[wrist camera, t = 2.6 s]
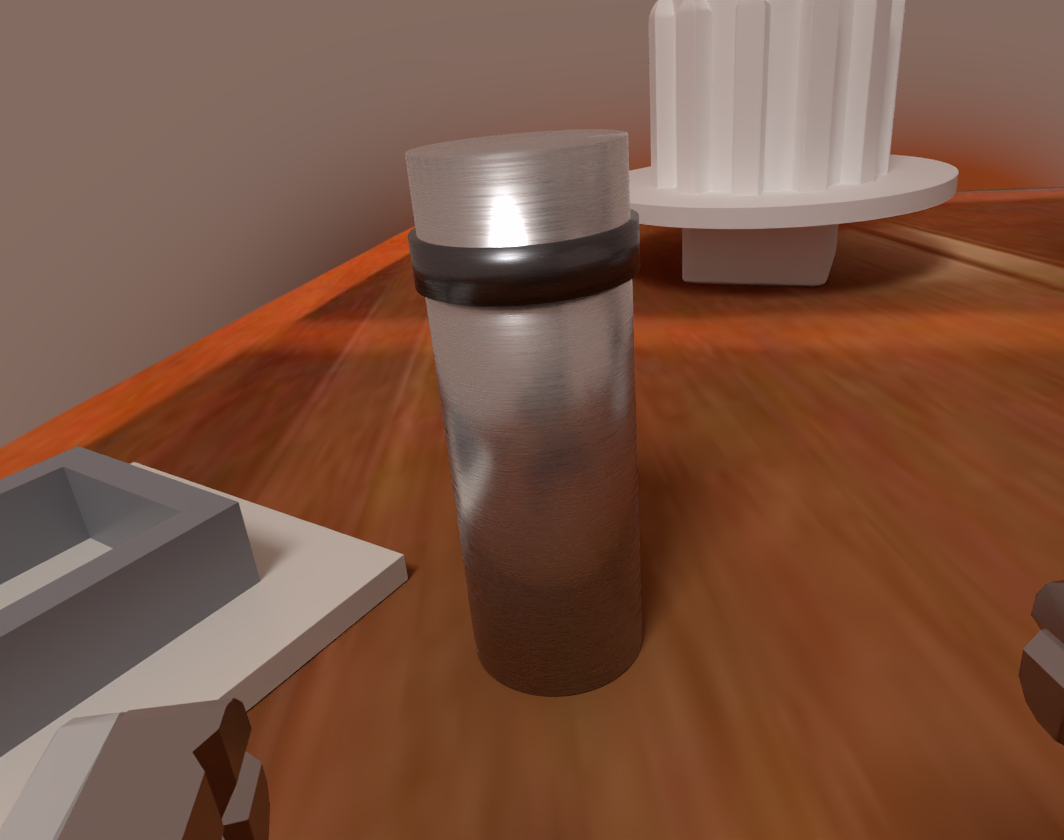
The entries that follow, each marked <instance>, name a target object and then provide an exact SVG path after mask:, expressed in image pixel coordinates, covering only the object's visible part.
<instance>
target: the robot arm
mask: <svg viewBox="0 0 1064 840" xmlns="http://www.w3.org/2000/svg"><path fill="white" fill-rule="evenodd" d="M1031 616H1032V617H1033V619H1034V620H1035V622H1036V623H1037V625H1038V626H1039V628H1040V629H1041V630H1040V631H1039V632H1038V634H1037V635H1036V636H1035V637H1034V638H1033V639H1032V640H1031V641H1030V642H1029V643H1028V645H1027V646H1026V647H1025V648H1024V649H1023V653H1022V659H1021V665H1020V671H1019V678H1020V682H1021V686H1022V690H1023V694H1024V697H1025V701H1026V703H1027V705H1028V706H1029V708H1030V710H1031V711H1032V713H1033V715H1034V717H1035V718H1036V720H1037V722H1038V723H1039V724H1040V725H1041V726H1042V727H1043V728H1044V729H1045V730H1046V731H1047V732H1048V733H1049V735H1050V736H1051V737H1052V738H1053V739H1054V740H1055V741H1056V742H1058V743H1060V744H1062V745H1064V580H1060V581H1053V582H1047V583H1046V584H1045V585H1044V586H1043V588H1042V589H1041V590H1040V591H1039V592H1038V593H1037V594H1036V597H1035V601H1034V605H1033V609H1032V613H1031ZM251 729H252V728H251V725H250V722H249V719H248V716H247V713H246V710H245V707H244V704H243V702H241V701H239V700H237V699H235V698H228V699H220V700H211V701H203V702H194V703H186V704H177V705H169V706H161V707H152V708H144V709H135V710H128V711H127V712H119V713H110V714H102V715H93V716H85V717H77V718H72V719H71V720H70V721H68V722H67V723H65V724H64V725H63V726H61V727H60V728H59V729H58V730H57V732H56V733H55V735H54V737H53V738H52V740H51V742H50V743H49V745H48V747H47V749H46V750H45V752H44V754H43V755H42V757H41V759H40V761H39V762H38V764H37V766H36V767H35V769H34V771H33V773H32V774H31V776H30V778H29V779H28V781H27V783H26V785H25V786H24V788H23V790H22V792H21V793H20V795H19V797H18V798H17V800H16V802H15V804H14V805H13V807H12V809H11V810H10V812H9V814H8V816H7V817H6V819H5V821H4V822H3V824H2V826H1V828H0V840H268V839H269V818H270V802H269V793H268V785H267V780H266V776H265V773H264V769H263V765H262V763H261V762H260V761H258V760H257V759H256V758H254V757H253V756H251V755H250V754H248V753H247V752H246V747H247V744H248V740H249V736H250V732H251Z"/></svg>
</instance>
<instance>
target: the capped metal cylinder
mask: <svg viewBox="0 0 1064 840" xmlns="http://www.w3.org/2000/svg"><path fill="white" fill-rule="evenodd" d="M628 154H629V153H628V133H627V132H625V131H620V130H605V129H580V130H556V131H539V132H527V133H515V134H504V135H495V136H485V137H477V138H470V139H462V140H455V141H448V142H443V143H437V144H431V145H427V146H422V147H418V148H414V149H411V150H409V151H407V152H405V158H406V165H407V172H408V179H409V186H410V193H411V200H412V207H413V214H414V220H415V228H414V229H413V230H411V231H410V232H409V234H408V241H409V247H410V254H411V261H412V268H413V274H414V281H415V288H416V290H417V292H418V293H420V294H421V295H422V296H424V297H425V298H426V304H427V311H428V318H429V325H430V332H431V339H432V346H433V353H434V360H435V367H436V374H437V381H438V388H439V395H440V402H441V409H442V416H443V423H444V430H445V437H446V444H447V451H448V458H449V465H450V472H451V479H452V486H453V493H454V500H455V507H456V514H457V521H458V528H459V535H460V542H461V549H462V556H463V563H464V569H465V576H466V583H467V590H468V597H469V604H470V611H471V618H472V625H473V632H474V639H475V646H476V652H477V655H478V659H479V660H480V662H481V664H482V666H483V667H484V668H485V670H486V671H487V672H488V673H489V674H490V675H491V676H492V677H493V678H494V679H496V680H497V681H499V682H500V683H502V684H504V685H506V686H508V687H510V688H512V689H515V690H517V691H520V692H524V693H528V694H532V695H540V696H568V695H574V694H580V693H584V692H588V691H591V690H594V689H596V688H599V687H602V686H604V685H606V684H608V683H609V682H611V681H613V680H614V679H616V678H617V677H619V676H620V675H622V674H623V673H624V672H625V671H626V670H627V669H628V668H629V667H630V666H631V665H632V663H633V662H634V661H635V659H636V657H637V656H638V654H639V651H640V648H641V645H642V602H641V567H640V533H639V498H638V464H637V429H636V395H635V360H634V326H633V291H632V279H633V278H634V277H635V276H636V275H637V274H638V273H639V271H640V235H639V214H638V213H637V212H636V211H634V210H633V209H630V187H629V155H628Z"/></svg>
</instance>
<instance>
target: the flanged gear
mask: <svg viewBox="0 0 1064 840" xmlns="http://www.w3.org/2000/svg"><path fill="white" fill-rule="evenodd" d="M905 5H906V0H658V1H657V2H656V4H655V5H654V7H653V9H652V11H651V13H650V17H649V64H650V65H649V66H650V67H649V68H650V69H649V70H650V125H651V167H646V168H642V169H636V170H632V171H629V187H630V209H633V210H634V211H636V212H637V213H638V214H639V223H640V224H647V225H656V226H667V227H681V228H682V279H683V281H685V282H686V283H697V284H731V285H765V286H800V287H818V286H821V285H823V284H824V283H825V282H826V281H827V278H828V275H829V272H830V269H831V266H832V263H833V260H834V257H835V254H836V245H837V233H838V224H841V223H851V222H859V221H867V220H874V219H880V218H886V217H892V216H898V215H903V214H907V213H912V212H916V211H920V210H924V209H927V208H931V207H934V206H936V205H939V204H942V203H944V202H946V201H948V200H949V199H951V198H952V197H953V196H954V195H955V193H956V187H957V179H958V170H957V168H955V167H954V166H952V165H950V164H947V163H944V162H940V161H936V160H932V159H926V158H919V157H912V156H902V155H890V149H891V139H892V129H893V120H894V110H895V101H896V91H897V82H898V71H899V63H900V53H901V43H902V34H903V23H904V15H905Z"/></svg>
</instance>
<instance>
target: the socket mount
mask: <svg viewBox="0 0 1064 840" xmlns="http://www.w3.org/2000/svg"><path fill="white" fill-rule="evenodd" d="M407 580H408V575H407V570H406V564H405V559H404V555H403V554H400V553H397V552H394V551H391V550H389V549H386V548H383V547H380V546H377V545H374V544H371V543H368V542H365V541H362V540H359V539H357V538H354V537H351V536H348V535H345V534H342V533H339V532H336V531H333V530H330V529H327V528H325V527H322V526H319V525H316V524H313V523H310V522H307V521H304V520H301V519H298V518H295V517H293V516H290V515H287V514H284V513H281V512H278V511H275V510H272V509H269V508H266V507H263V506H261V505H258V504H255V503H252V502H249V501H246V500H243V499H240V498H237V497H234V496H231V495H229V494H226V493H223V492H220V491H217V490H214V489H211V488H208V487H205V486H202V485H199V484H197V483H194V482H191V481H188V480H185V479H182V478H179V477H176V476H173V475H170V474H167V473H164V472H162V471H159V470H156V469H153V468H150V467H147V466H144V465H141V464H138V463H135V462H133V463H131V464H128V463H125V462H122V461H119V460H116V459H114V458H111V457H108V456H105V455H102V454H99V453H96V452H93V451H91V450H88V449H85V448H82V447H79V446H78V447H76V448H73V449H71V450H69V451H66V452H64V453H61V454H59V455H57V456H54V457H52V458H50V459H47V460H45V461H43V462H40V463H38V464H36V465H33V466H31V467H28V468H26V469H24V470H21V471H19V472H17V473H14V474H12V475H10V476H7V477H5V478H2V479H0V828H1V826H2V824H3V822H4V821H5V819H6V817H7V816H8V814H9V812H10V810H11V809H12V807H13V805H14V804H15V802H16V800H17V798H18V797H19V795H20V793H21V792H22V790H23V788H24V786H25V785H26V783H27V781H28V779H29V778H30V776H31V774H32V773H33V771H34V769H35V767H36V766H37V764H38V762H39V761H40V759H41V757H42V755H43V754H44V752H45V750H46V749H47V747H48V745H49V743H50V742H51V740H52V738H53V737H54V735H55V733H56V732H57V730H58V729H59V728H60V727H61V726H63V725H64V724H65V723H67V722H68V721H70V720H71V719H72V718H77V717H85V716H93V715H102V714H110V713H119V712H127V711H128V710H135V709H144V708H152V707H161V706H169V705H177V704H186V703H194V702H203V701H211V700H220V699H228V698H235V699H237V700H239V701H241V702H243V704H244V707H245V710H246V711H248V710H249V709H250V708H251V707H253V706H254V705H255V704H256V703H257V702H259V701H260V700H261V699H262V698H264V697H265V696H266V695H267V694H268V693H270V692H271V691H272V690H273V689H275V688H276V687H277V686H278V685H279V684H281V683H282V682H283V681H284V680H286V679H287V678H288V677H289V676H290V675H292V674H293V673H294V672H295V671H297V670H298V669H299V668H300V667H301V666H303V665H304V664H305V663H306V662H308V661H309V660H310V659H311V658H312V657H314V656H315V655H316V654H317V653H319V652H320V651H321V650H322V649H323V648H325V647H326V646H327V645H328V644H330V643H331V642H332V641H333V640H334V639H336V638H337V637H338V636H339V635H341V634H342V633H343V632H344V631H345V630H347V629H348V628H349V627H350V626H352V625H353V624H354V623H355V622H356V621H358V620H359V619H360V618H361V617H363V616H364V615H365V614H366V613H367V612H369V611H370V610H371V609H372V608H374V607H375V606H376V605H377V604H378V603H380V602H381V601H382V600H383V599H385V598H386V597H387V596H388V595H389V594H391V593H392V592H393V591H394V590H396V589H397V588H398V587H399V586H400V585H402V584H403V583H404V582H405V581H407Z"/></svg>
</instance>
